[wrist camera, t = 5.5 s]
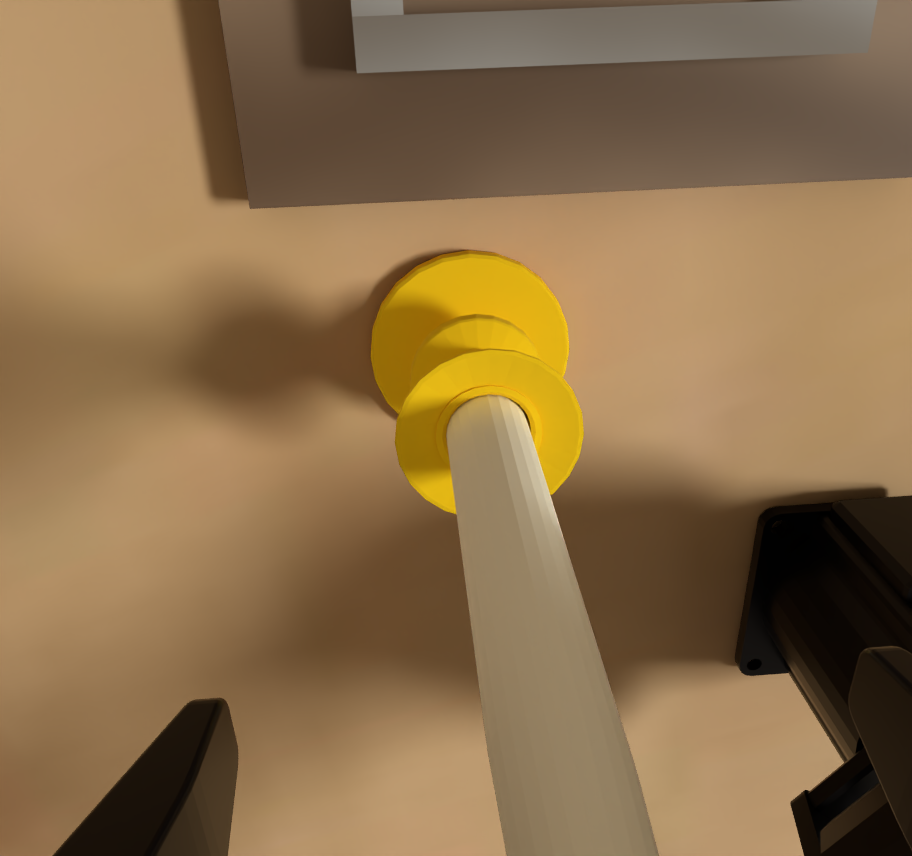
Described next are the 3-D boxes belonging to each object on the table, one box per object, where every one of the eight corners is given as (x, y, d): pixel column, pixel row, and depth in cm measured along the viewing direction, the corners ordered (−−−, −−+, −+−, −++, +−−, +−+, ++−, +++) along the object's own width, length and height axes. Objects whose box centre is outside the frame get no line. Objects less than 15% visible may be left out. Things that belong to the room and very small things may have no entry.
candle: (405, 455, 22) (415, 1175, 8) (342, 284, 20) (198, 875, 6) (584, 404, 21) (919, 1062, 8) (541, 223, 19) (914, 694, 5)
